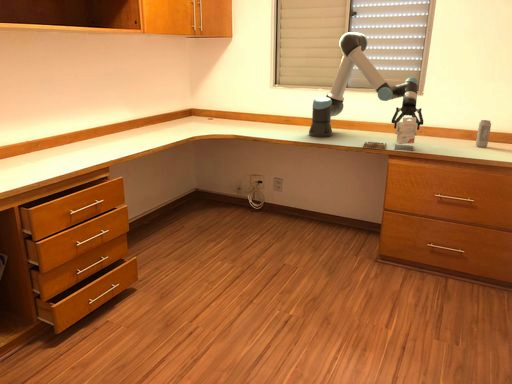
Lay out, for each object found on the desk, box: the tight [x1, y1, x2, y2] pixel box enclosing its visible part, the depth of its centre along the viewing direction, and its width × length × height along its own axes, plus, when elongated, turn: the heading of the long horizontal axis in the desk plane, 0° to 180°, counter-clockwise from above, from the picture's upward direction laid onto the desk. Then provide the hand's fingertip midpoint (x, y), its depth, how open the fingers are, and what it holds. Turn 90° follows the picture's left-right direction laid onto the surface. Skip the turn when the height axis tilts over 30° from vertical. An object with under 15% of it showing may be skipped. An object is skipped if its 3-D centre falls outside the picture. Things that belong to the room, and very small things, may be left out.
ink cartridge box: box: [395, 116, 416, 145], centre depth 239 cm, size 9×5×15 cm, turn 101°
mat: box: [393, 143, 414, 152], centre depth 242 cm, size 10×12×1 cm
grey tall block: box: [475, 119, 492, 149], centre depth 243 cm, size 6×6×15 cm
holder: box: [362, 141, 387, 150], centre depth 246 cm, size 12×13×2 cm
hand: (406, 133), depth 236 cm, fingers closed on ink cartridge box, 9 cm apart
